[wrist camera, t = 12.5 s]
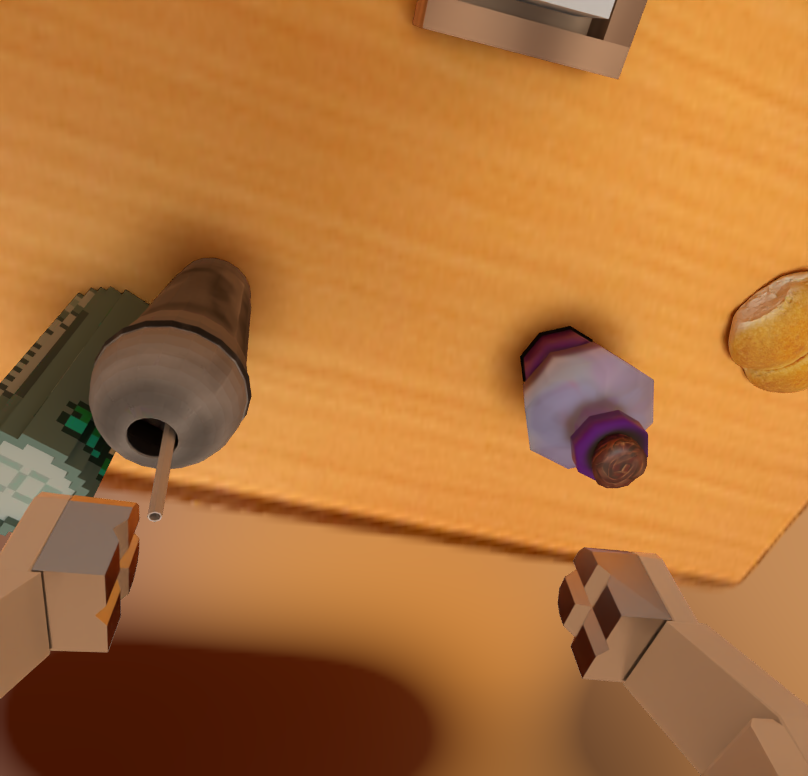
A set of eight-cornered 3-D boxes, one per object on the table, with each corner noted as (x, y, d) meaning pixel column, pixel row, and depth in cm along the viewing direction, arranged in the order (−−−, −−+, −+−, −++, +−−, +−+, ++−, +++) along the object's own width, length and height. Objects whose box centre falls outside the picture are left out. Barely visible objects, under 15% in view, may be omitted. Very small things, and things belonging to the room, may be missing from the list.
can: (133, 387, 42) (47, 554, 30) (47, 336, 40) (-88, 495, 27) (182, 327, 40) (111, 478, 27) (95, 269, 37) (-28, 408, 25)
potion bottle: (592, 415, 47) (661, 529, 37) (485, 404, 46) (526, 519, 35) (634, 314, 43) (726, 413, 32) (517, 298, 41) (574, 396, 31)
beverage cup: (152, 227, 36) (-7, 423, 20) (276, 245, 38) (226, 444, 21) (156, 335, 40) (24, 577, 23) (269, 348, 41) (220, 587, 25)
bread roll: (761, 396, 48) (793, 426, 44) (704, 328, 44) (734, 355, 41) (862, 325, 45) (903, 352, 42) (809, 245, 41) (851, 268, 38)
